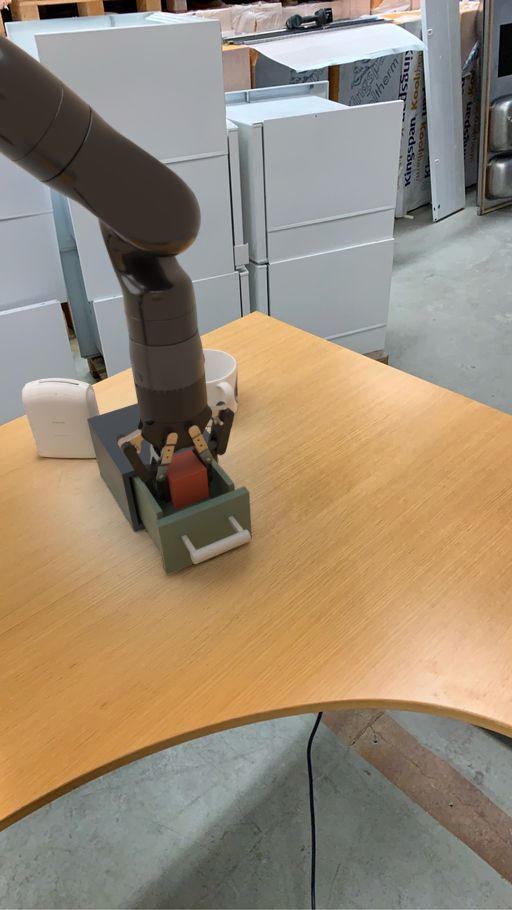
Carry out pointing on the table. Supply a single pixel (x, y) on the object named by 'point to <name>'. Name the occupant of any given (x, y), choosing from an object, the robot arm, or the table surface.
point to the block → (187, 479)
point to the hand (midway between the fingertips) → (184, 491)
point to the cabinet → (121, 456)
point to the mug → (221, 379)
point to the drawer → (195, 521)
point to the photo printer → (61, 416)
